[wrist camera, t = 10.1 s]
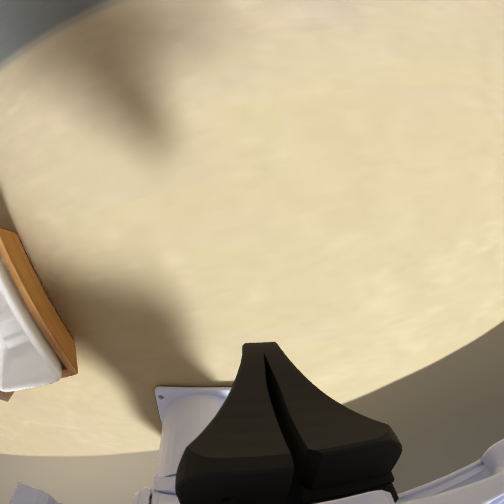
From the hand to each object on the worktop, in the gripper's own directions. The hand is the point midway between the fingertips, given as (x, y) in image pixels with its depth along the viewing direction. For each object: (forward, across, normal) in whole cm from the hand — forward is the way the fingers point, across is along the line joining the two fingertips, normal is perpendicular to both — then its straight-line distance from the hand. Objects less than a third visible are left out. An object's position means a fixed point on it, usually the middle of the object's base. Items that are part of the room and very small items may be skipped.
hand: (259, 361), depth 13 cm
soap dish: (+11, +20, +3) cm, 22 cm away
